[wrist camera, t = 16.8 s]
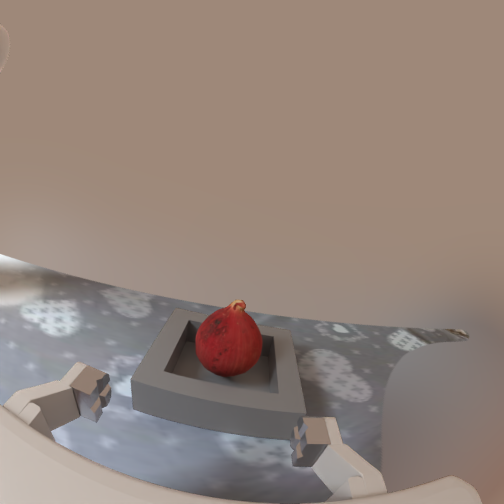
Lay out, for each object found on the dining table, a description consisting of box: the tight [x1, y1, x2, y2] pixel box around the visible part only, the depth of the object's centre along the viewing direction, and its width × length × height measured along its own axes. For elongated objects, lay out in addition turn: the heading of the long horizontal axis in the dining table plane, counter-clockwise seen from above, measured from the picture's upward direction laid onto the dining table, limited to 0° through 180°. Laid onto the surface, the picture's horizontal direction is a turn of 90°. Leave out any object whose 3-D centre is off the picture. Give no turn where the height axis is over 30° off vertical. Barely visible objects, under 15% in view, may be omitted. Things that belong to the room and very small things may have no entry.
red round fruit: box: [195, 300, 263, 377], centre depth 23 cm, size 6×6×8 cm
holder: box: [131, 308, 307, 440], centre depth 24 cm, size 13×13×4 cm
